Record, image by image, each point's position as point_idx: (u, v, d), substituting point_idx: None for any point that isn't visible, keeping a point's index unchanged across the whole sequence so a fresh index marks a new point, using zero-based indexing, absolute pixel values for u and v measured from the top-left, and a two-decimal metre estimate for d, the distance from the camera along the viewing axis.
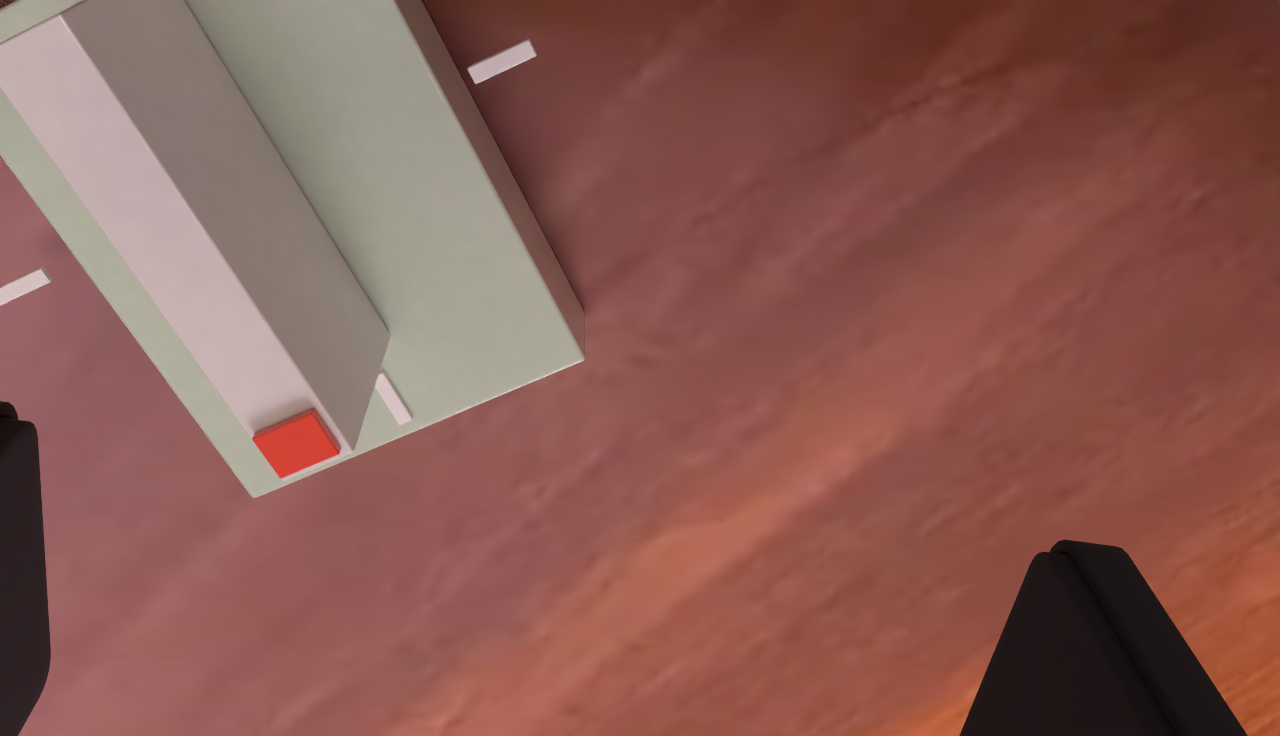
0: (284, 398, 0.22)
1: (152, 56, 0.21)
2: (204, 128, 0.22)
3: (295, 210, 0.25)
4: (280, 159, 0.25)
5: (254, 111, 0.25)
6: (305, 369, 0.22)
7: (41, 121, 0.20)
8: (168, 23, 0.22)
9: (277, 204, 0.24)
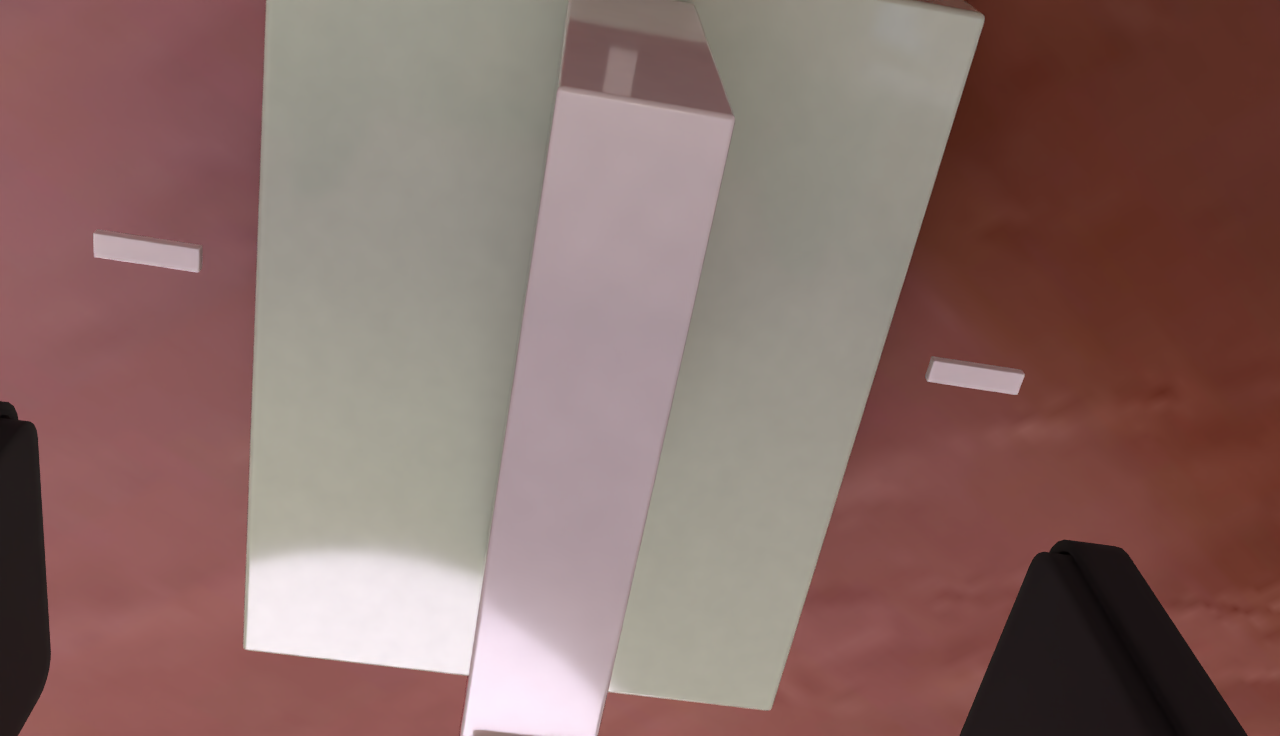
0: (552, 726, 0.14)
1: None
2: None
3: None
4: None
5: None
6: (603, 699, 0.14)
7: (566, 229, 0.11)
8: None
9: None
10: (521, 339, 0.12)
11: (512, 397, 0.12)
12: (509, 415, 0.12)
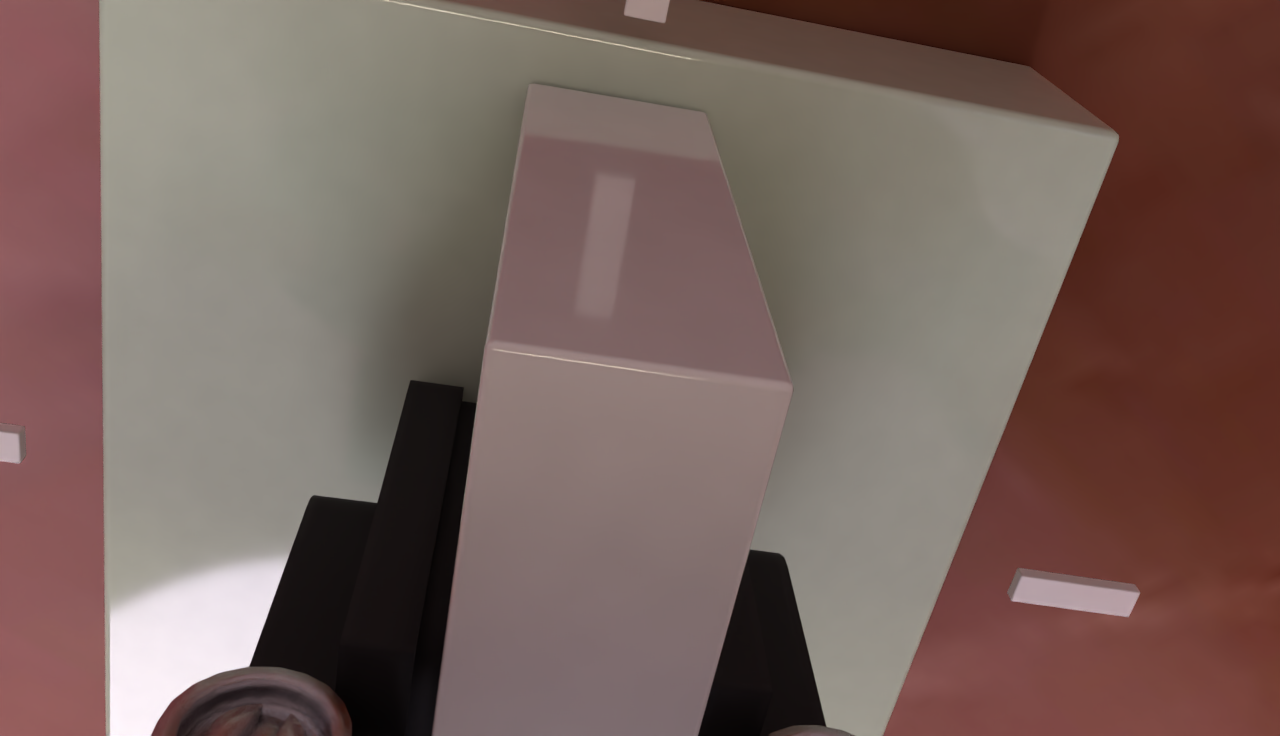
0: None
1: None
2: None
3: None
4: None
5: None
6: None
7: (505, 558, 0.07)
8: None
9: None
10: (437, 713, 0.07)
11: None
12: None
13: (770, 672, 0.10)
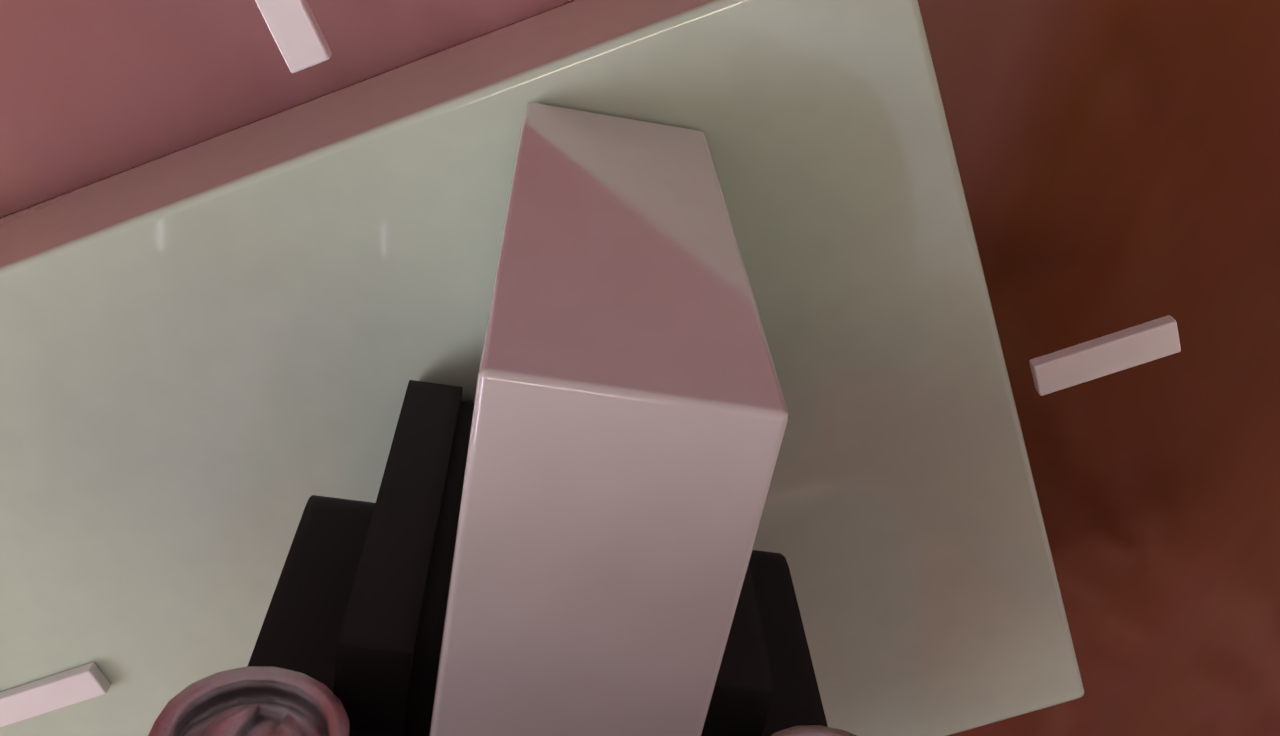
0: None
1: None
2: None
3: None
4: None
5: None
6: None
7: (500, 586, 0.07)
8: None
9: None
10: None
11: None
12: None
13: (771, 672, 0.10)
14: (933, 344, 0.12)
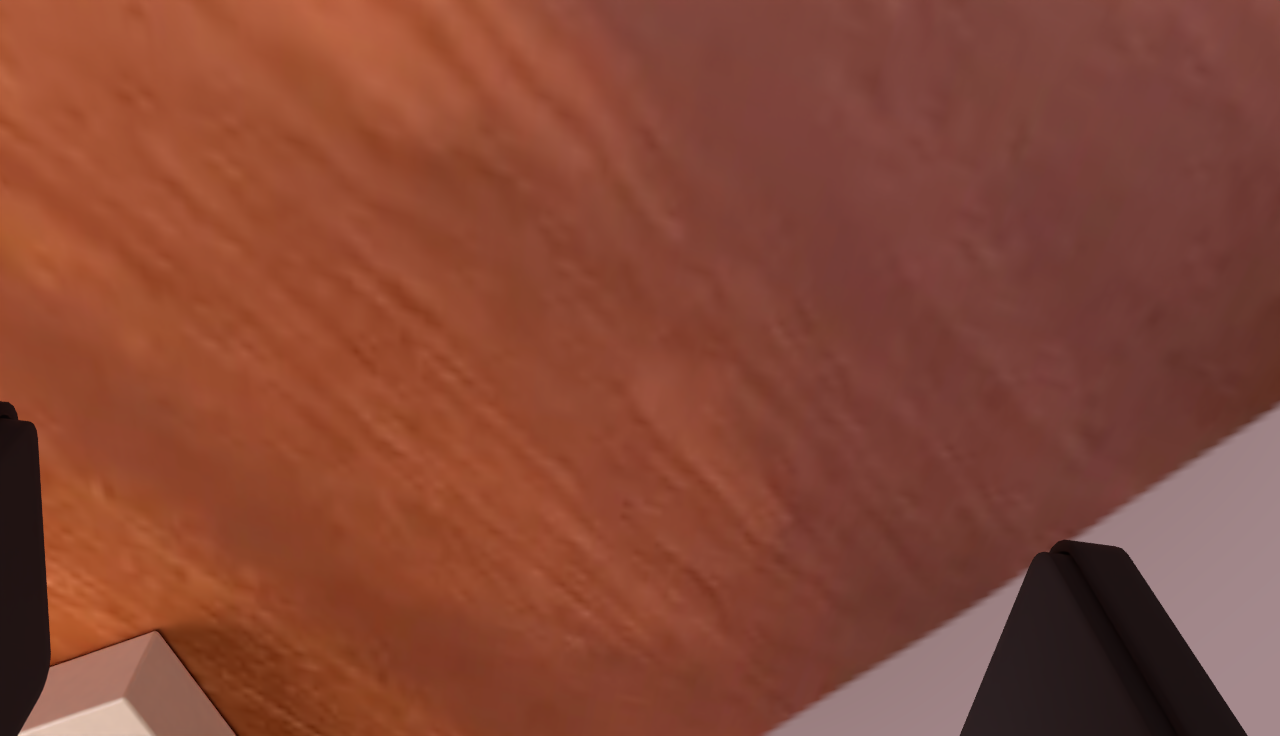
0: None
1: None
2: None
3: None
4: None
5: None
6: None
7: None
8: None
9: None
10: None
11: None
12: None
13: None
14: None
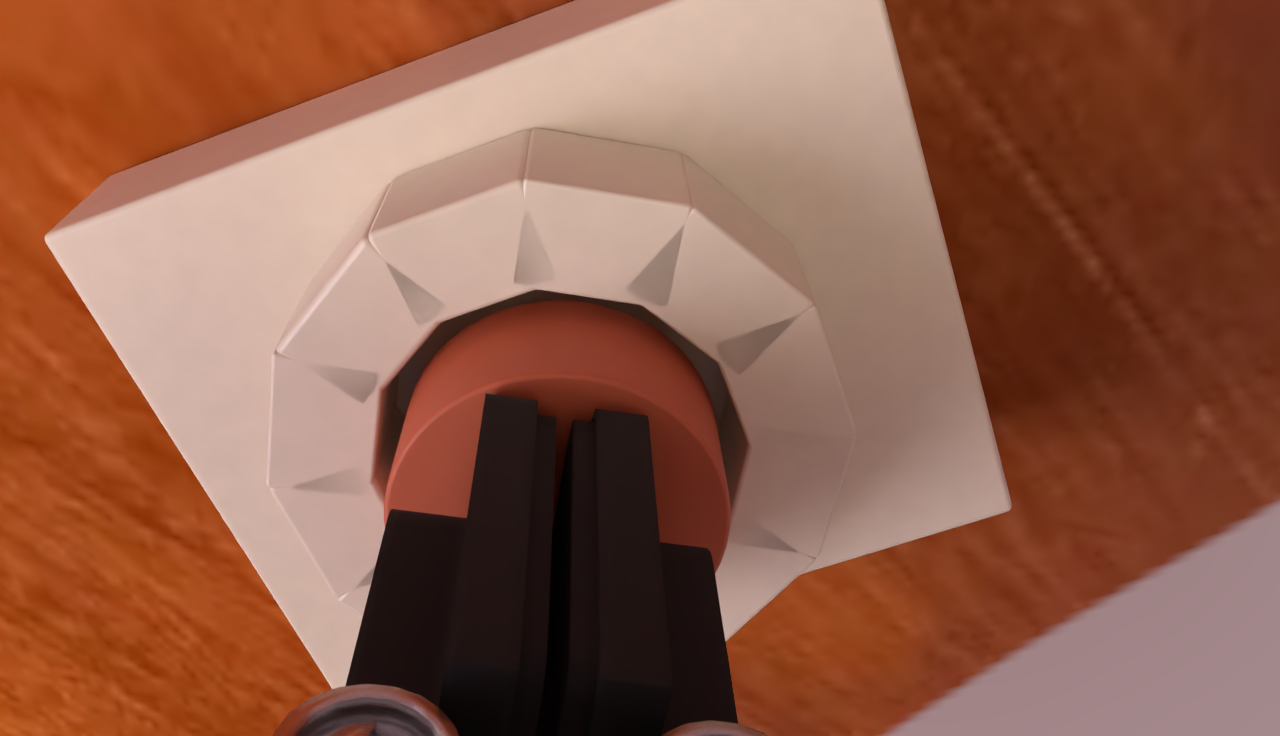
0: None
1: None
2: None
3: None
4: None
5: None
6: None
7: None
8: None
9: None
10: None
11: None
12: None
13: (684, 667, 0.10)
14: None
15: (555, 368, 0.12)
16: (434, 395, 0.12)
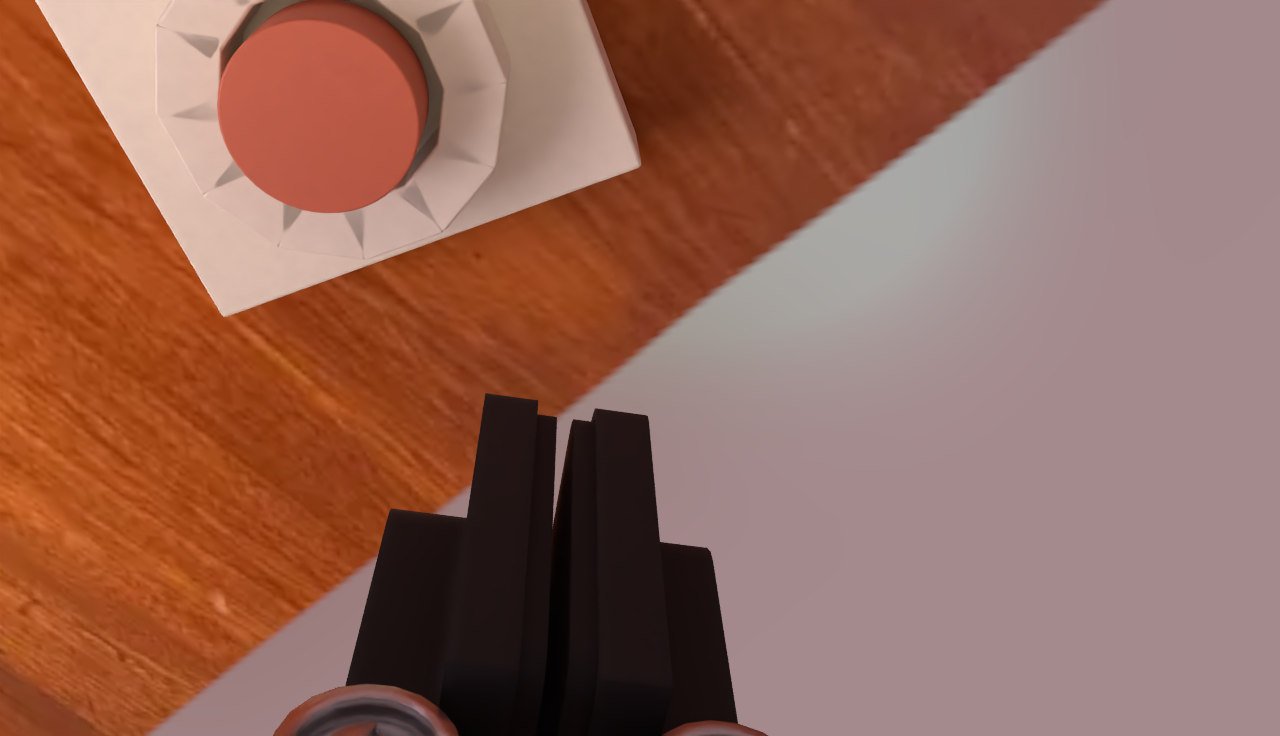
0: None
1: None
2: None
3: None
4: None
5: None
6: None
7: None
8: None
9: None
10: None
11: None
12: None
13: (684, 667, 0.10)
14: None
15: (309, 18, 0.21)
16: None
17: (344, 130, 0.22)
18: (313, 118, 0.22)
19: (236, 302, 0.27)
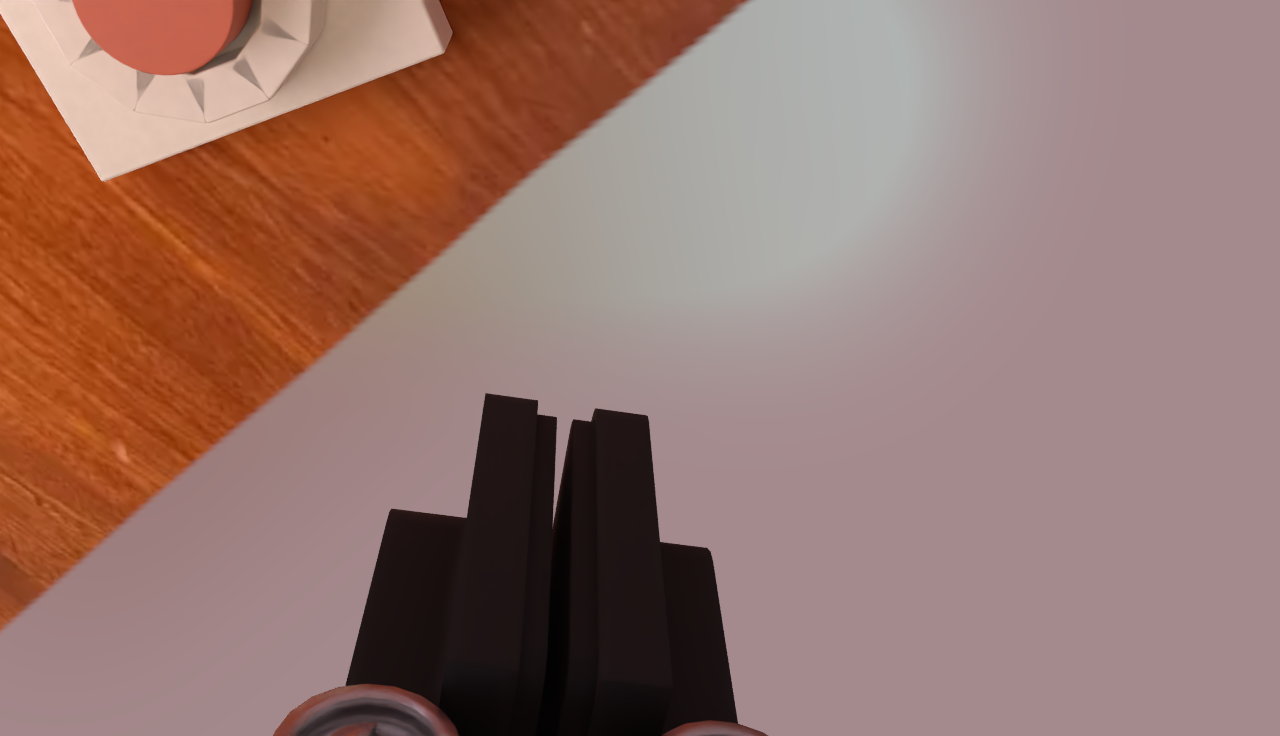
0: None
1: None
2: None
3: None
4: None
5: None
6: None
7: None
8: None
9: None
10: None
11: None
12: None
13: (685, 667, 0.10)
14: None
15: None
16: None
17: (173, 4, 0.27)
18: None
19: (112, 168, 0.32)
